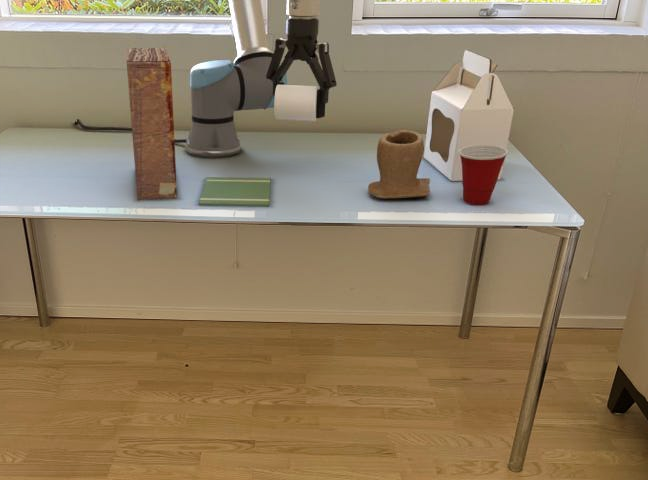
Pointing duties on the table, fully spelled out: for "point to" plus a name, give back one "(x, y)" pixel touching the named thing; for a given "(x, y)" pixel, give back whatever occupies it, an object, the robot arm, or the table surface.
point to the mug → (295, 102)
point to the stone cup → (400, 166)
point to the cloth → (236, 191)
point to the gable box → (466, 114)
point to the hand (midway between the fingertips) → (299, 113)
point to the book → (152, 122)
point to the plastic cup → (480, 171)
